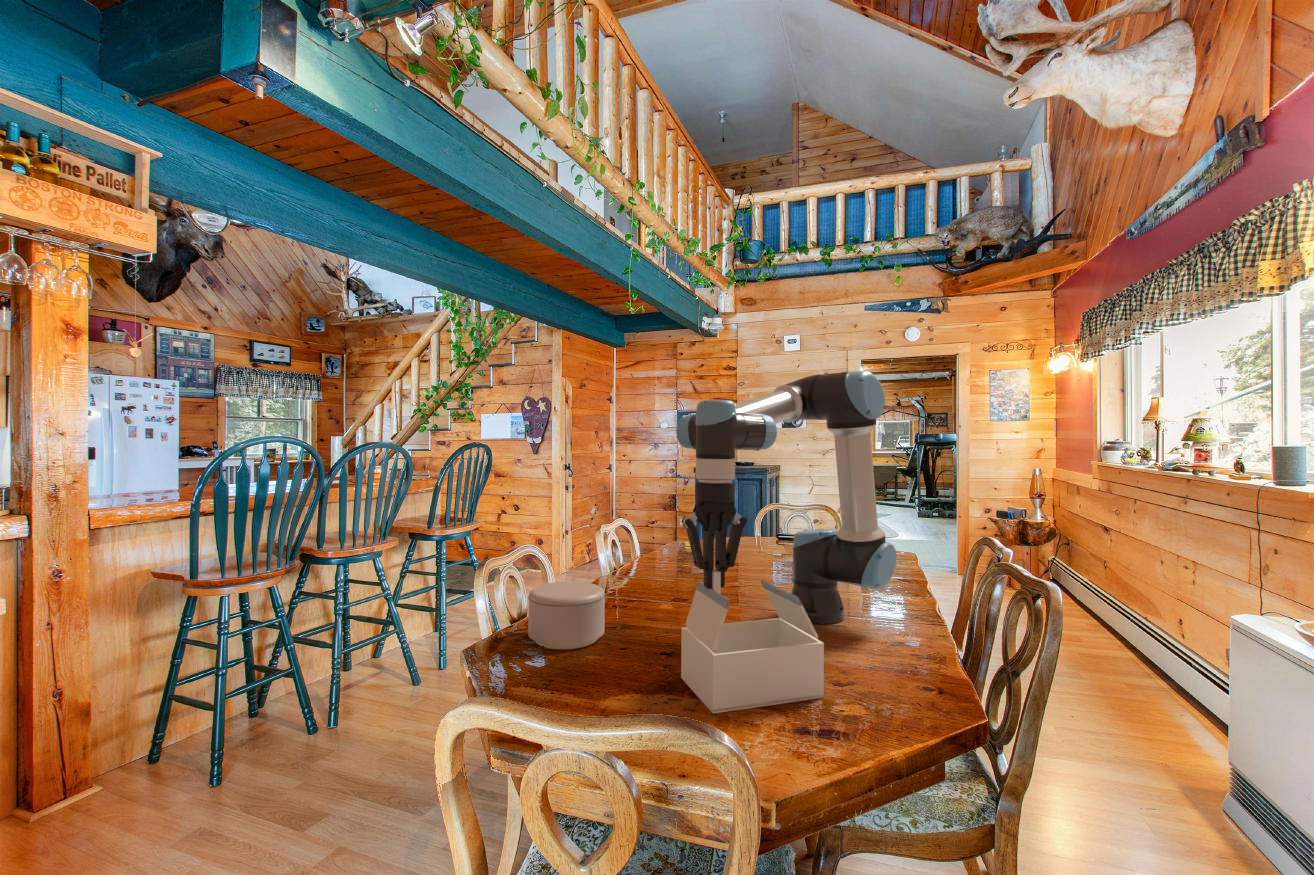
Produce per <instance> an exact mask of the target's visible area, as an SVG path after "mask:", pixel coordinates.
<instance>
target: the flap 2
mask: <svg viewBox="0 0 1314 875" xmlns="http://www.w3.org/2000/svg"><path fill="white" fill-rule="evenodd" d="M760 584H761V585H762V587H763V589H764V591H765V593H766V595H767V597H768V599H769V601H770V603H771V605H772V607H773V608H774V611H775V612H776V615H777V618H781V619H783V620H785V621H786V622H788V623H790V624H792V625H793V626H795V627H797V628H799V629H800V630H802V631H804V632H806V633H807V634H809V635H811V636H813V637H814V638H816V639H818V638H819V635H818V633H817V631H816V629H815V627H814V625H813V623H811V621H810V619H809V617H808V615H807V613H806V611H805V609H804V607H803V605H802V603H801V601H800V599H799V597H797V596H795V595H793V594H791V592H789V591H786V590H785V589H783V588H780V587H778V586H776V585H774V584H772V583H770V582H768V581H766V580H764V579H762V580H760Z"/></svg>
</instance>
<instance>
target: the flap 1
mask: <svg viewBox="0 0 1314 875" xmlns="http://www.w3.org/2000/svg"><path fill="white" fill-rule="evenodd" d="M730 603H731V600H730V598H727V596H725V595H722V593H721V594H720V593H718V592H716V591H715V590H713V589H711V588H709V589H707V588H706V587H705V586H704V582H702V581H698V582H697V584H696V588H695V591H694V595H693V598H692V601H691V605H690V608H689V611H688V615H687V618H686V621H685V624H684V625H685V627H688V628H690V629H691V630H692V631H693V632H694V633H695V634H697V635H698V636H699V637H700V638H701V639H702V640H704V641H705V642H706V643H707V644H708V645H709V646H711V647H712V648H713V649H716V647H717V644H718V640H719V637H720V634H721V630H722V627H723V624H724V623H725V621H726V620H725V619H726V616H727V614H728V610H729V606H730Z"/></svg>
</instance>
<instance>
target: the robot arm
mask: <svg viewBox="0 0 1314 875" xmlns="http://www.w3.org/2000/svg"><path fill="white" fill-rule="evenodd" d="M883 388H884V387H883V386H882V384H881V382H880V380H879V379H878V378H877V376H876V375H874V374H873V373H872V372H870V371H867V370H866V371H865V370H851V371H842V372H834V373H825V374H812V375H809V376H806V377H802V378H800V379H797V380H794V381H791V382H788V383H786V384H782V385H779V386H777V387H776V388H775V389H774V390H773V391H772V392H769V393H767V394H762V395H761V396H757V397H754V398H751V399H747V400H744V401H742V402H738V403H735V402H734V401H733V400H729V399H728V400H727V399H705V400H701V401H699V402H698V403H697V406H696V413H695V414H694V413H693V414H691V415H685V416H682V417H681V418H680V420H678V423H677V424H676V429H675V433H676V434H675V435H676V438H677V441H678V443H679V444H680V445H681V447H683V448H686V449H692V450H695V478H696V479H697V480H698V481H696V483H695V494H694V496H695V497H694V500H695V504H694V507H693V509H692V513H691V514H690V515H689V516H687V517H683V518H682V519H681V523H682V525H683V526H684V528H685V530H686V533H687V538H688V543H689V545H690V546H689V547H690V551H691V555H692V560H693V565H694V566H695V567H697V568H698V569H700V570H703V584H704V586H705V587H706V588H707V589H709V588H711V589H713V590H715V591H716V592H718V593H720V594H721V595H722V593H721V591H722V590H721V588H725V584H726V582H725V581H726V572H727V571H728V569H730V568H734V566H735V565H736V560H737V556H738V552H739V546H740V542H741V538H742V533H743V531H744V530H743V529H745V526H746V525H747V523H748V518H747V517H746V516H742V515H741V514H740V513H738V512H737V507H736V506H735V499H736V484H735V483H734V481H733V480H735V479H736V451H762V450H767V449H769V448H770V447H771V446H772V445H773V444H774V443H775V442H776V439H777V436H778V435H777V434H778V428H777V424H779V423H781V422H783V423H793V422H796V421H808V420H809V421H826V428H827V430H829V431H830V432H831V433H832V434H833V438H834V450H835V451H834V452H835V460H836V461H835V462H836V463H835V464H836V471H837V472H836V474H837V483H838V484H837V485H838V497H839V507H840V508H839V510H840V518H841V520H840V521H841V528H840V529H839V530H837V529H834V528H823V529H820V528H818V529H806V530H801V531H797V532H795V533H794V536H793V544H792V551H793V552H792V557H793V558H792V563H793V564H792V569H793V570H792V578H793V579H792V581H793V582H792V588H791V590H790V593H791V594H793V595H795V596H797V597H799V599H800V601H801V603H802V605H803V607H804V609H805V611H806V613H807V615H808V617H809V619H810V621H811V623H812V624H835V623H839V622H842V621H843V620H844V619H845V607H844V604H843V601H842V598H841V594H840V592H839V589H838V588H839V587H838V583H843V584H848V585H853V586H856V587H857V586H858V587H862V588H864V589H868V588H869V589H877V590H878V589H879V590H880V589H882V588H884V587H886V586H887V585H888V584H889V582H890V581H891V579H892V578H893V575H894V573H895V570H896V566H897V560H898V559H897V558H898V557H897V556H898V555H897V549H896V548H895V546H894V544H892V543H890V542H889V541H887V542H886V532H885V530H883V529H882V528H880V527H879V522H878V512H877V511H878V510H877V509H878V508H877V500H876V499H877V497H876V486H875V485H876V484H875V474H874V460H873V458H874V457H873V449H872V448H873V446H872V435H871V432H872V431H873V429H874V428H875V427H876V426H877V419H879V418H880V417H882V415H883V413H884V411H885V406H886V399H885V392H884V389H883ZM698 523H699V525H700V526H701V529H702V530H701V532H702V546H701V541H700V538H699V532H698V529H697V524H698ZM731 523H732V525H731V528H730V533H729V537H728V541H727V536H728V526H729V525H730V524H731ZM714 553H715V554H714ZM714 560H715V561H714Z"/></svg>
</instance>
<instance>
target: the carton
mask: <svg viewBox="0 0 1314 875" xmlns="http://www.w3.org/2000/svg"><path fill="white" fill-rule="evenodd" d="M680 633H681V635H680V636H681V643H680V644H681V645H680V646H681V649H680V650H681V651H680V654H681V657H680V658H681V659H680V660H681V662H680V664H681V667H680V672H681V673H680V677H681V679H682V680H683V682H684V683H685V684H686V685H687V686H688V687H689V688H690V689H691V691H692V692H693V693H694V694H695V695H696V697H698V699H700V701H701V702H702V703H703V704H704V705H705V706H706V708H707V709H708V710H709V711H710V712H711V714H720V713H726V712H732V711H739V710H746V709H755V708H759V707H760V708H762V707H766V706H767V707H768V706H774V705H776V706H777V705H782V704H788V703H795V702H801V701H802V702H803V701H807V700H808V701H809V700H815V699H816V700H817V699H822V698H825V697H824V696H825V695H824V694H825V693H824V691H825V690H824V689H825V685H824V682H825V668H824V667H825V665H824V664H825V642H823V641H821V640H819V639H818V638H817V639H816V638H814V637H813V636H811V635H809V634H808V633H806V632H804V631H802V630H801V629H799V628H797V627H795V626H794V625H792V624H790V623H788V622H787V621H785V620H783V619H781V618H780V617H777V618H766V619H765V618H764V619H757V620H755V619H754V620H753V619H752V620H745V621H734V622H724V624H723V627H722V630H721V634H720V637H719V640H718V644H717V647H716V649H713V648H712V647H711V646H709V645H708V644H707V643H706V642H705V641H704V640H702V639H701V638H700V637H699V636H698V635H697V634H695V633H694V632H693V631H692V630H691V629H690V628H688V627H687V626H683V627H682V626H681V632H680Z"/></svg>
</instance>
